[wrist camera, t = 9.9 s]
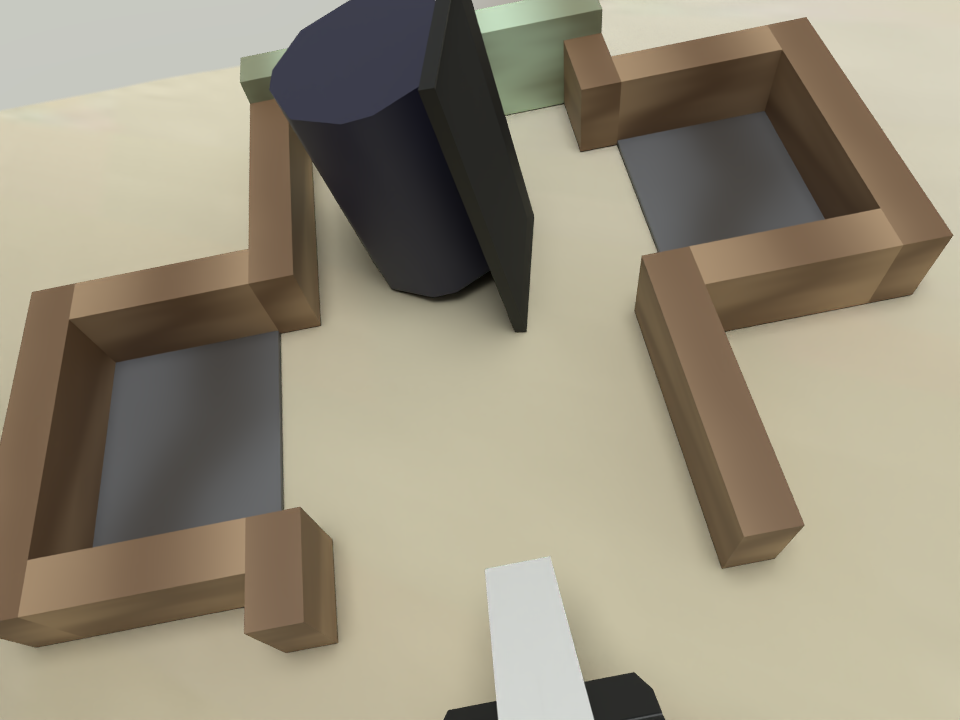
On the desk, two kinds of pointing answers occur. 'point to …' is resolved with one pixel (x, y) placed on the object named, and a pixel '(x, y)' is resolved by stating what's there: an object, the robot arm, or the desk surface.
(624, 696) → the robot arm
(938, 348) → the desk surface
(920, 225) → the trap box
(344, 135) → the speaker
